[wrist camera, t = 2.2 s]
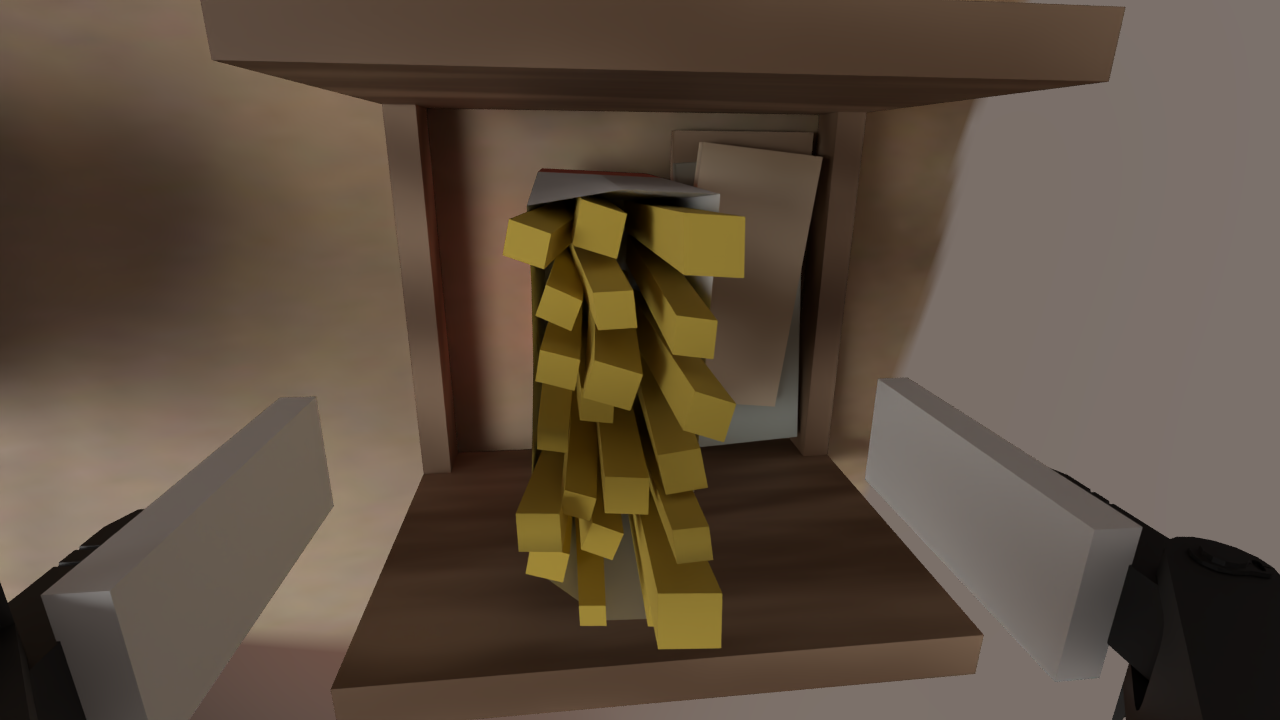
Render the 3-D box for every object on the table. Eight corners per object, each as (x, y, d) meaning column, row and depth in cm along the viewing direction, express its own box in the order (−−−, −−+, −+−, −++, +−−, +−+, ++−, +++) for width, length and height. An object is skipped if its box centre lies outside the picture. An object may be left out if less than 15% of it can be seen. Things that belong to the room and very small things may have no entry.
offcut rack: (391, 66, 25) (195, -30, 12) (849, 77, 27) (1125, 6, 14) (435, 481, 31) (338, 731, 17) (809, 463, 33) (974, 673, 20)
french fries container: (534, 403, 30) (497, 733, 13) (534, 166, 27) (482, 194, 10) (629, 403, 31) (712, 719, 14) (641, 171, 27) (770, 206, 10)
